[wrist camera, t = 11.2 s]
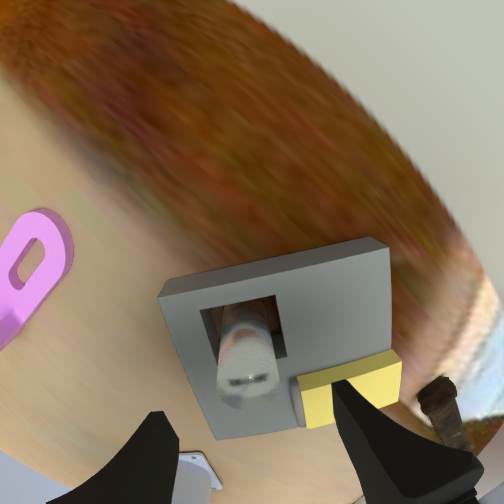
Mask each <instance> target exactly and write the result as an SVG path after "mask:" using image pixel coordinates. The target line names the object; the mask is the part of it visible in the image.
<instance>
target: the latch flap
mask: <svg viewBox="0 0 504 504" xmlns="http://www.w3.org/2000/svg"><path fill="white" fill-rule="evenodd" d="M401 368H402V360H401V359H400V358H399V357H398V355H397V354H396V353H395V352H394V350H393V349H390V350H388V351H385V352H382V353H379V354H376V355H372V356H369V357H366V358H363V359H360V360H356V361H353V362H350V363H346V364H343V365H339V366H336V367H332V368H329V369H325V370H321V371H317V372H313V373H309V374H305V375H301V376H297V380H294V381H292V382H291V383H290V390H291V395H292V400H293V405H294V411H295V416H296V421H297V425H298V426H300V427H307V429H311V428H315V427H319V426H323V425H327V424H330V423H334V422H336V421H335V418H334V415H333V401H332V388H331V383H332V382H336V381H340V380H343V379H346V380H348V381H349V382H350V383H351V385H352V386H353V387H354V388H355V389H356V390H357V391H358V392H359V393H360V394H361V395H362V396H363V397H364V398H366V399H367V400H368V401H369V402H370V403H371V404H372V405H374V406H375V407H376V408H377V409H378V408H381V407H384V406H387V405H389V404H392V403H395V402H397V401H398V396H399V388H400V378H401Z"/></svg>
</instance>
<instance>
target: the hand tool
mask: <svg viewBox="0 0 504 504" xmlns="http://www.w3.org/2000/svg"><path fill="white" fill-rule="evenodd" d="M456 397H457V390H456V386H455V385H454V384H453V382H452V381H451V380H449V377H440V376H439V377H438V378H437V379H435V380H434V381H433V382H431V383H430V384H428V385H427V386H426V387H425V388H424V389H423V390H422V391H421V392H420V393H419V395H418V402H419V403H420V404H421V408H420V409H421V411H422V412H423V413H424V414H425V415H427V416H429V418H430V420H431V423H432V425H433V426H434V428H435V432H436V433H437V434H438V435H439V436H440V438H441V440H442V442H443V444H444V445H445V446H448V447H451V448H455V449H459V450H464V451H468V452H469V450H470V447H469V444H468V442H467V441H466V437H465V434H464V429H463V424H462V420H461V417H460V413H459V409H458V406H457V403H456V400H455V398H456Z"/></svg>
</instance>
